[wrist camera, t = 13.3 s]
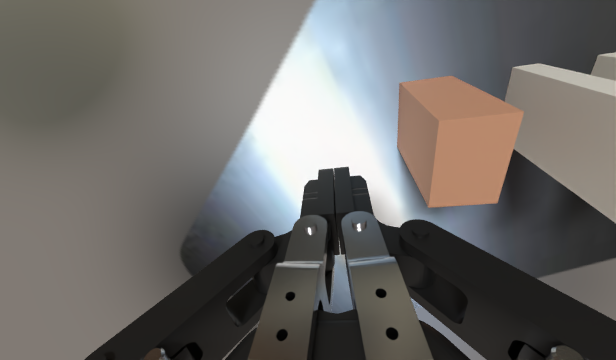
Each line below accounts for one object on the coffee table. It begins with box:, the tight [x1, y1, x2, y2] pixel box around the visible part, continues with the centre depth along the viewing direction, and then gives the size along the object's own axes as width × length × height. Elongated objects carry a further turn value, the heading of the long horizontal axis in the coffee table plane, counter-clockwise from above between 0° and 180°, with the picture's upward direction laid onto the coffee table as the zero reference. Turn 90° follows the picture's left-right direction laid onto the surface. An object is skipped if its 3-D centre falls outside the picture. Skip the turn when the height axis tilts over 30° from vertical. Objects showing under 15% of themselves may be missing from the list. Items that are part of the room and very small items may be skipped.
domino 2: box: [504, 64, 616, 223], centre depth 14 cm, size 2×5×10 cm, turn 9°
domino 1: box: [397, 76, 524, 208], centre depth 16 cm, size 4×5×8 cm
